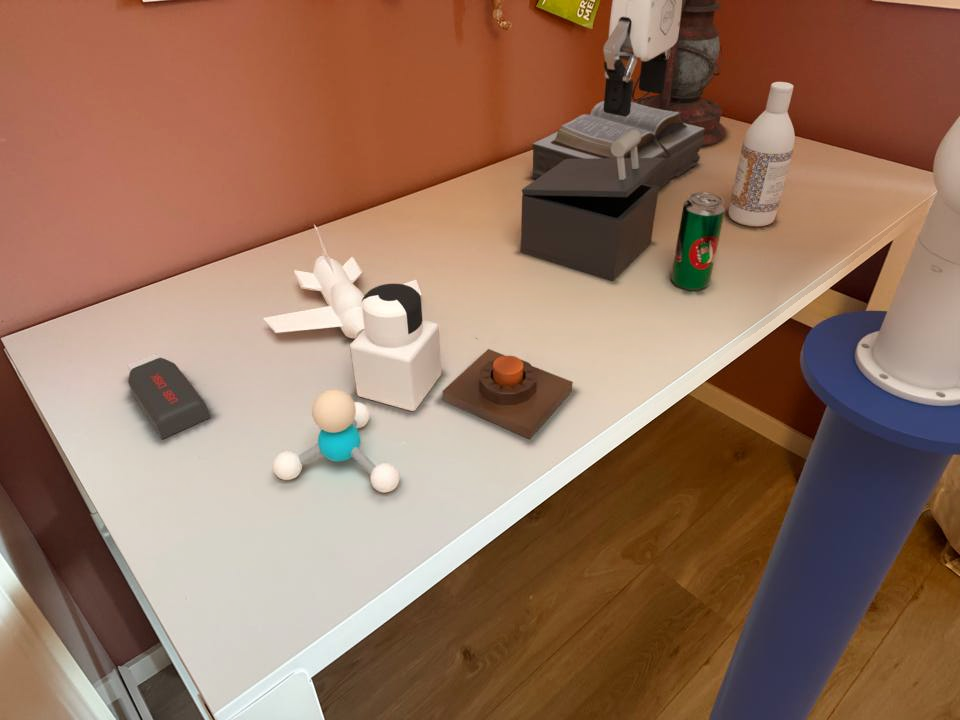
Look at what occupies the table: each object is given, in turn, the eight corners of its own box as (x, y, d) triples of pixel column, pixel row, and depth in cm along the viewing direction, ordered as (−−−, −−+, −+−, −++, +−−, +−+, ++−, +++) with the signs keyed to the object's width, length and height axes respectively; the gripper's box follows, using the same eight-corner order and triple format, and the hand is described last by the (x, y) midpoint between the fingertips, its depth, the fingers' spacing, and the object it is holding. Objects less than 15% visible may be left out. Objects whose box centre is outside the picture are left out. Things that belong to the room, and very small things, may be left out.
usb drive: (162, 440, 73) (154, 420, 72) (124, 382, 81) (116, 363, 79) (210, 417, 76) (204, 398, 74) (169, 364, 83) (163, 345, 82)
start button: (528, 374, 77) (529, 361, 76) (512, 390, 75) (513, 377, 74) (503, 364, 78) (503, 351, 77) (487, 380, 76) (487, 367, 75)
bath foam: (722, 207, 113) (750, 77, 101) (767, 207, 113) (800, 77, 101) (733, 228, 108) (763, 92, 96) (780, 228, 108) (816, 92, 95)
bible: (720, 172, 124) (732, 115, 118) (609, 217, 111) (616, 156, 105) (622, 134, 139) (628, 82, 133) (514, 170, 126) (515, 113, 120)
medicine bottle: (387, 359, 83) (376, 270, 76) (442, 374, 81) (437, 283, 74) (356, 397, 78) (341, 305, 71) (414, 413, 76) (405, 320, 69)
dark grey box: (650, 243, 105) (659, 186, 99) (613, 281, 96) (620, 222, 91) (562, 218, 111) (566, 164, 106) (520, 252, 103) (521, 195, 97)
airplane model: (282, 372, 82) (269, 318, 77) (249, 290, 96) (236, 240, 91) (443, 328, 88) (441, 275, 84) (390, 256, 102) (385, 208, 98)
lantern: (650, 107, 150) (671, -56, 132) (739, 125, 142) (775, -48, 123) (608, 135, 138) (625, -41, 120) (702, 156, 130) (737, -30, 111)
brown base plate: (572, 391, 79) (573, 370, 77) (530, 439, 73) (530, 417, 71) (488, 358, 83) (488, 337, 82) (442, 400, 78) (441, 379, 76)
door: (666, 163, 97) (663, 119, 94) (626, 197, 89) (622, 151, 86) (566, 163, 106) (561, 124, 103) (522, 195, 97) (515, 153, 95)
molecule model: (270, 508, 66) (250, 439, 61) (285, 421, 75) (269, 355, 70) (401, 497, 67) (392, 428, 61) (399, 413, 76) (392, 346, 71)
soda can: (675, 269, 99) (690, 187, 91) (712, 277, 97) (730, 194, 89) (666, 287, 95) (680, 203, 88) (704, 295, 93) (722, 211, 86)
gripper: (651, -44, 70) (631, 129, 80) (715, -67, 81) (690, 88, 91) (583, -50, 73) (572, 117, 84) (653, -71, 84) (636, 79, 95)
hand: (634, 102), depth 87 cm, fingers open, 9 cm apart
